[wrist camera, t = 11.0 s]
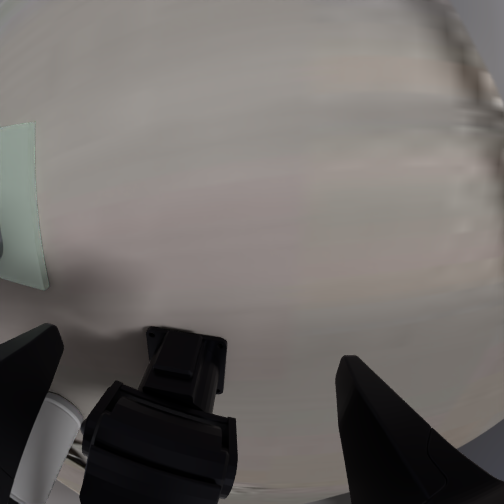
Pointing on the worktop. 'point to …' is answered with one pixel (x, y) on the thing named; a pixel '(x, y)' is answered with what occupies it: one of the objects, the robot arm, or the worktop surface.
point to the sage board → (20, 209)
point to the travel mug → (45, 450)
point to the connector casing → (1, 244)
